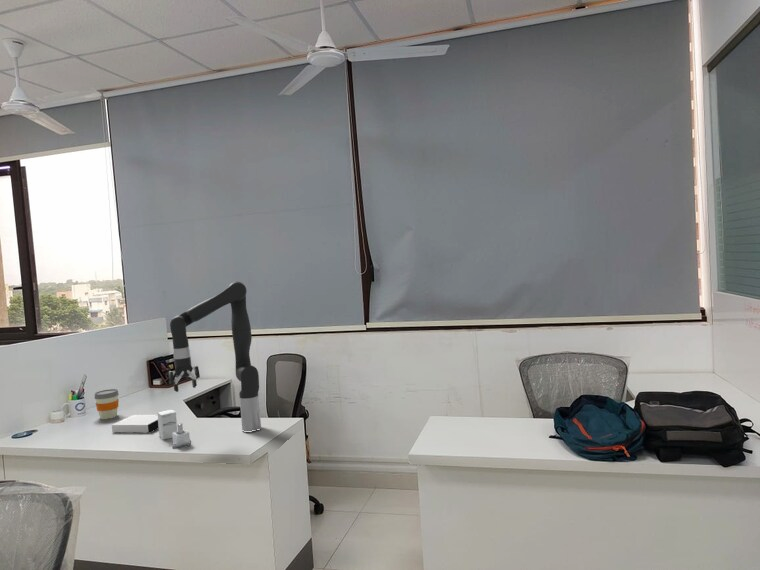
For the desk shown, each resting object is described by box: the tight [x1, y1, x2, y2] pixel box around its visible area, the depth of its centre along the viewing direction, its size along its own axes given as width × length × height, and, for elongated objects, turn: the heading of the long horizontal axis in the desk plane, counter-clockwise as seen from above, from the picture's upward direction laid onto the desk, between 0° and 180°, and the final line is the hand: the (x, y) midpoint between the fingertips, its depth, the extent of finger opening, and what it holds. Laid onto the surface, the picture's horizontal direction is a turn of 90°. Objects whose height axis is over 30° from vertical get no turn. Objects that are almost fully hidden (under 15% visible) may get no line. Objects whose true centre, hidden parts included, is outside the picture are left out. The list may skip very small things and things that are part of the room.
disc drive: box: [111, 414, 159, 433], centre depth 282 cm, size 18×22×5 cm
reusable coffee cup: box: [94, 388, 120, 420], centre depth 307 cm, size 12×13×15 cm
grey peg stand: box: [171, 423, 191, 449], centre depth 249 cm, size 7×7×10 cm
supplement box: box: [156, 409, 178, 441], centre depth 263 cm, size 7×7×13 cm
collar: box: [171, 429, 191, 446], centre depth 249 cm, size 6×6×5 cm
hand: (185, 389), depth 255 cm, fingers open, 8 cm apart
